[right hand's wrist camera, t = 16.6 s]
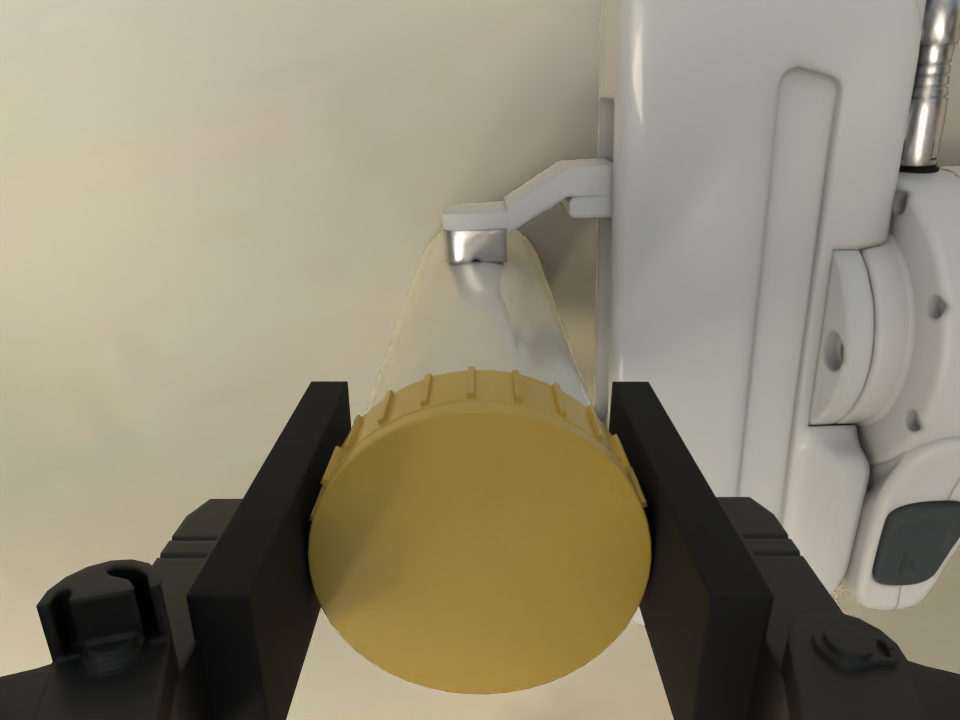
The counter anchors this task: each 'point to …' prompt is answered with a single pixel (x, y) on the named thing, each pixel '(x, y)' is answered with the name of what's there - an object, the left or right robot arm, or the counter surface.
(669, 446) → the right robot arm
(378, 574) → the lid
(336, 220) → the counter surface
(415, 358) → the jar
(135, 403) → the counter surface
